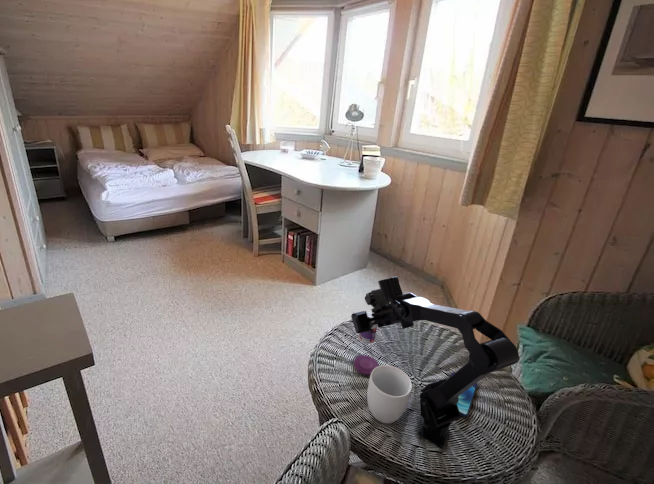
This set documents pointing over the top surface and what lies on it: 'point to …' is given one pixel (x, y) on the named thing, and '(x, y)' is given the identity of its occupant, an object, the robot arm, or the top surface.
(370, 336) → the pill bottle
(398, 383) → the mug
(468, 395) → the smartphone
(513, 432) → the top surface
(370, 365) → the plum saucer
